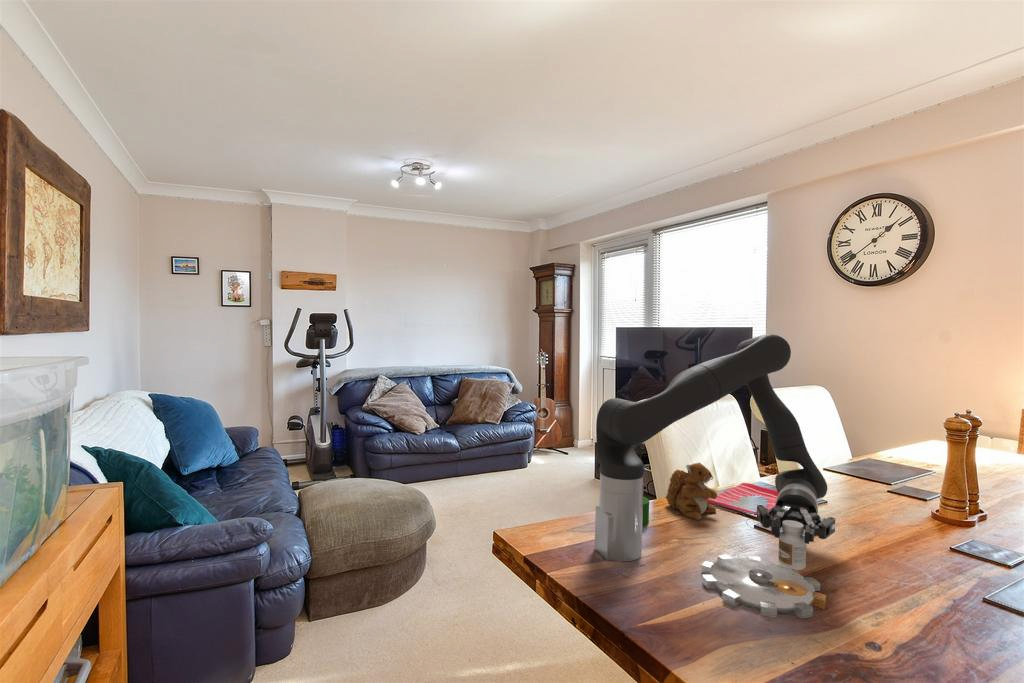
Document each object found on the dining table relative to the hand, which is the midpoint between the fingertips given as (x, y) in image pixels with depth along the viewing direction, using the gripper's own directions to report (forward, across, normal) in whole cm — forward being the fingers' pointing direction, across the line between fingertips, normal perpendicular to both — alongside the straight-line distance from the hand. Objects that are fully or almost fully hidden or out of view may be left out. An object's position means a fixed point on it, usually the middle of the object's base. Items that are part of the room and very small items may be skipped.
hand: (791, 535), depth 92 cm
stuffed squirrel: (-38, -26, +13) cm, 48 cm away
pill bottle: (-3, 0, +7) cm, 7 cm away
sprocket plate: (-3, -5, +12) cm, 14 cm away
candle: (-22, -37, +13) cm, 44 cm away
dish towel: (-54, -13, +14) cm, 57 cm away
